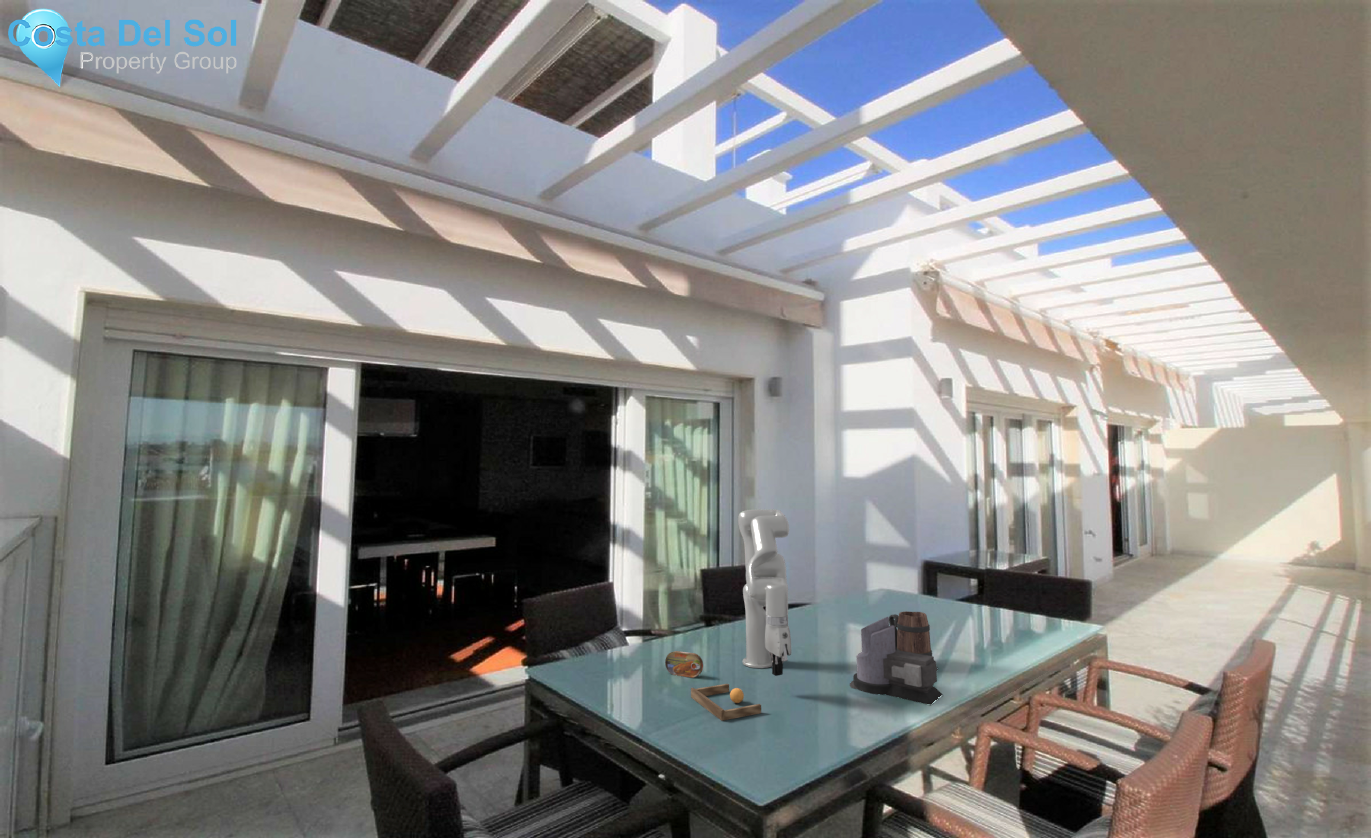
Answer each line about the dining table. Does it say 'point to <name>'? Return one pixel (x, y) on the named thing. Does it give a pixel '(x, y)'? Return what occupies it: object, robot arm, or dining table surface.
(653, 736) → the dining table surface
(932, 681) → the juicer
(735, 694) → the ball
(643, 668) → the dining table surface
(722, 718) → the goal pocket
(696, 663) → the tin
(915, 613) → the tankard
